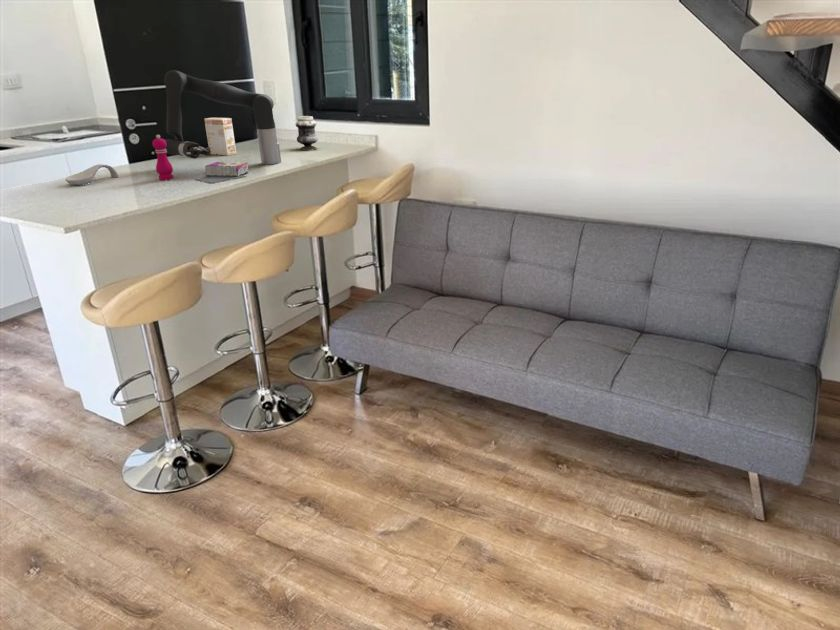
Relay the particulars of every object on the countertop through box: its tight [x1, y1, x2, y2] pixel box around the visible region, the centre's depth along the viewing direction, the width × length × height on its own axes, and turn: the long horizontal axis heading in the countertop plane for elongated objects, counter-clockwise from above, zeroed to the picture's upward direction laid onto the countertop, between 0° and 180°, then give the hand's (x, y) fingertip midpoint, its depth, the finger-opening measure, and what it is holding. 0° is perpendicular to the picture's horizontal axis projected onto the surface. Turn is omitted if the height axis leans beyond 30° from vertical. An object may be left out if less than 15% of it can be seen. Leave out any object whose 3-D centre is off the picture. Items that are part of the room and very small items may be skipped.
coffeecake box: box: [204, 117, 237, 156], centre depth 346 cm, size 15×7×20 cm, turn 58°
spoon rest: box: [64, 163, 119, 186], centre depth 285 cm, size 24×12×7 cm, turn 151°
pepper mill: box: [152, 134, 174, 181], centre depth 283 cm, size 7×7×20 cm
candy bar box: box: [204, 161, 250, 177], centre depth 291 cm, size 11×5×16 cm
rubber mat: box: [194, 174, 247, 184], centre depth 284 cm, size 18×14×1 cm
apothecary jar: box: [295, 115, 319, 151], centre depth 353 cm, size 12×12×18 cm
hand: (208, 153), depth 287 cm, fingers closed
